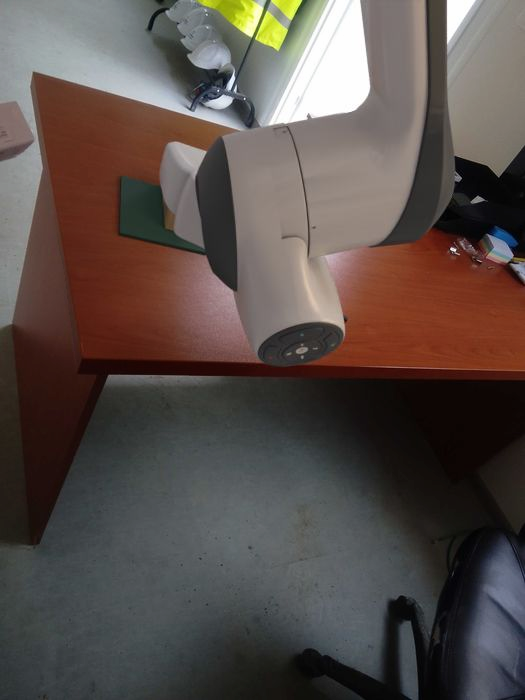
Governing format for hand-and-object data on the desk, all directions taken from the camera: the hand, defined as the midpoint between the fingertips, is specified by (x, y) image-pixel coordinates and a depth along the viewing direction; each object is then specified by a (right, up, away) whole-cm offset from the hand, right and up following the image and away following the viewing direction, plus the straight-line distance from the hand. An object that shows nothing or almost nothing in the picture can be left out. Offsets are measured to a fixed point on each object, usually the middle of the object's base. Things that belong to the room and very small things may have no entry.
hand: (244, 159), depth 54 cm
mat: (-13, +2, +31) cm, 34 cm away
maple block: (-12, 0, +26) cm, 29 cm away
